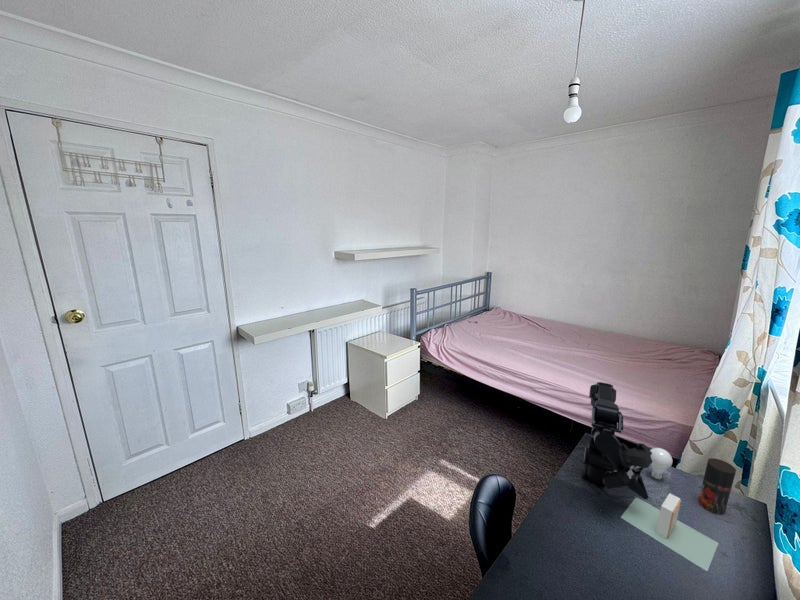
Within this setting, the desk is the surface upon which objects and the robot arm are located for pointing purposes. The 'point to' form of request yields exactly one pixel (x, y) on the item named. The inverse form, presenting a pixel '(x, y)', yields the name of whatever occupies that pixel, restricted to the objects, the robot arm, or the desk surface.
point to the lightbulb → (660, 462)
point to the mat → (672, 534)
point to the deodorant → (716, 486)
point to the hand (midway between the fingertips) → (646, 498)
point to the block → (668, 516)
